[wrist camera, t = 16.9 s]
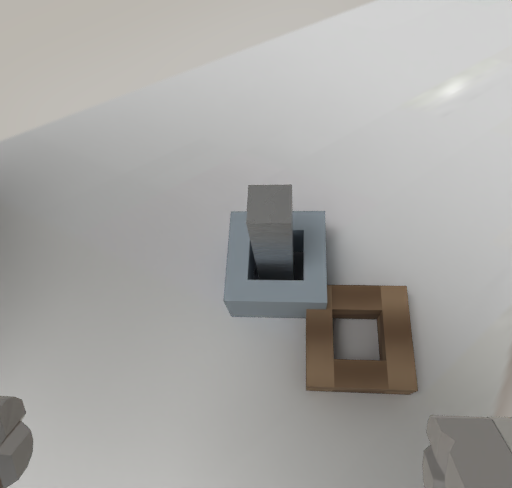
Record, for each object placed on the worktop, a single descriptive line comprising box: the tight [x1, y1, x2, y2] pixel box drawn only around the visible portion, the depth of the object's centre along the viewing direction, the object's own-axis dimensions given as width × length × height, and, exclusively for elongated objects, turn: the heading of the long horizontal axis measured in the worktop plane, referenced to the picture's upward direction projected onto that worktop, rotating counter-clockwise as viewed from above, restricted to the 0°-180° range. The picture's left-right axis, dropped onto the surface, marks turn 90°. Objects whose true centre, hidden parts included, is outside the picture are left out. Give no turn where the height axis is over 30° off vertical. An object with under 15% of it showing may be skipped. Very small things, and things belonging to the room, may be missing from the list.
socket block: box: [306, 285, 418, 394], centre depth 38 cm, size 9×9×3 cm
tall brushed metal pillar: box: [246, 185, 294, 280], centre depth 37 cm, size 3×3×14 cm
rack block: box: [224, 211, 327, 318], centre depth 41 cm, size 9×9×5 cm
